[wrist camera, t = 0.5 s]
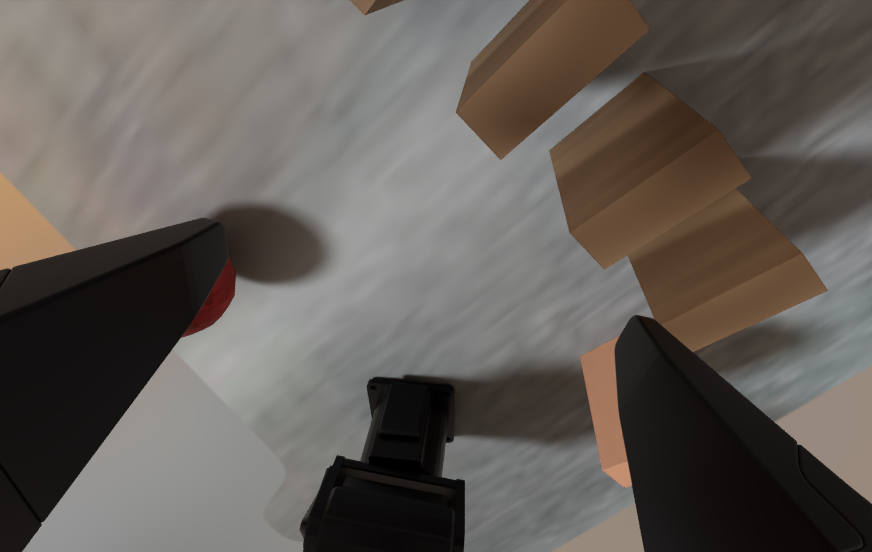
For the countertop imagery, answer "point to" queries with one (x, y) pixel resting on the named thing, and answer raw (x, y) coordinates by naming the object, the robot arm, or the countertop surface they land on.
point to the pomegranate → (215, 300)
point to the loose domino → (606, 410)
